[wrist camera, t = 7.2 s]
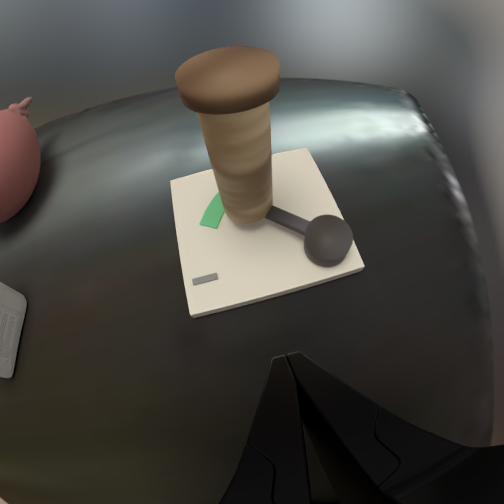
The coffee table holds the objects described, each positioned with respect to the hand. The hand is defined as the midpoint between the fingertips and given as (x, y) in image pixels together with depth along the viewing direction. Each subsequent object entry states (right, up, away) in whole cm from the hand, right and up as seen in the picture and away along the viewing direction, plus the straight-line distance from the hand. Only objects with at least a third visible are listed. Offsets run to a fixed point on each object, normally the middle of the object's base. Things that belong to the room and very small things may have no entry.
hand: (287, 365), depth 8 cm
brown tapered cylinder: (+1, +5, +15) cm, 16 cm away
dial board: (0, +6, +17) cm, 18 cm away
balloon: (-34, +13, +23) cm, 43 cm away
